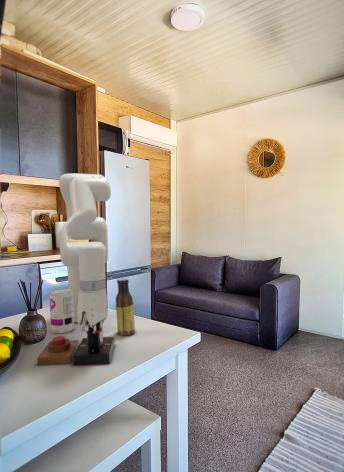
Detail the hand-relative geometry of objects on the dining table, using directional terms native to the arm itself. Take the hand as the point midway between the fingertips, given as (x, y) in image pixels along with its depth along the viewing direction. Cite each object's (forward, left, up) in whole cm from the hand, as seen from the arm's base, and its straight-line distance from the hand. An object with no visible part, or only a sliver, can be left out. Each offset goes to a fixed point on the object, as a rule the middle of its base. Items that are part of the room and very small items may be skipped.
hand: (95, 344), depth 94 cm
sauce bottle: (-17, +8, -4) cm, 19 cm away
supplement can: (-23, -16, -4) cm, 28 cm away
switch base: (0, 0, -3) cm, 3 cm away
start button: (-1, -11, 0) cm, 11 cm away
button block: (-1, -11, -3) cm, 12 cm away
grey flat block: (0, 0, 0) cm, 0 cm away
